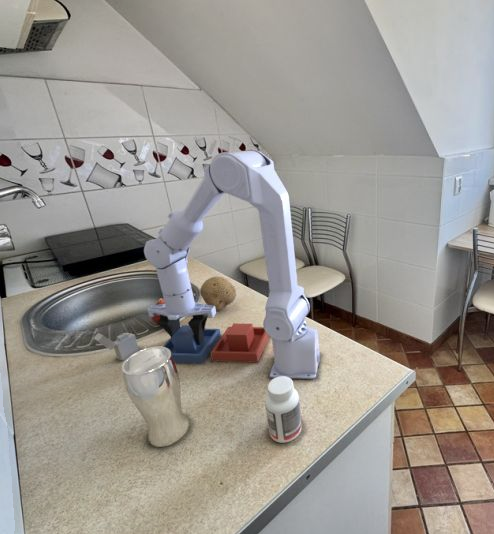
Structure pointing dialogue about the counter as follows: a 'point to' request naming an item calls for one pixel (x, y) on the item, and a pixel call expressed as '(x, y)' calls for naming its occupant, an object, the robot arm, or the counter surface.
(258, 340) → the red tray
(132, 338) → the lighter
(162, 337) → the counter surface
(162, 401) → the beer glass
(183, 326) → the blue block
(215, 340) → the blue tray
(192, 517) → the counter surface
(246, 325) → the red block
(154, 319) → the onion
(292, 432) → the pill bottle
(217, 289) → the potato
